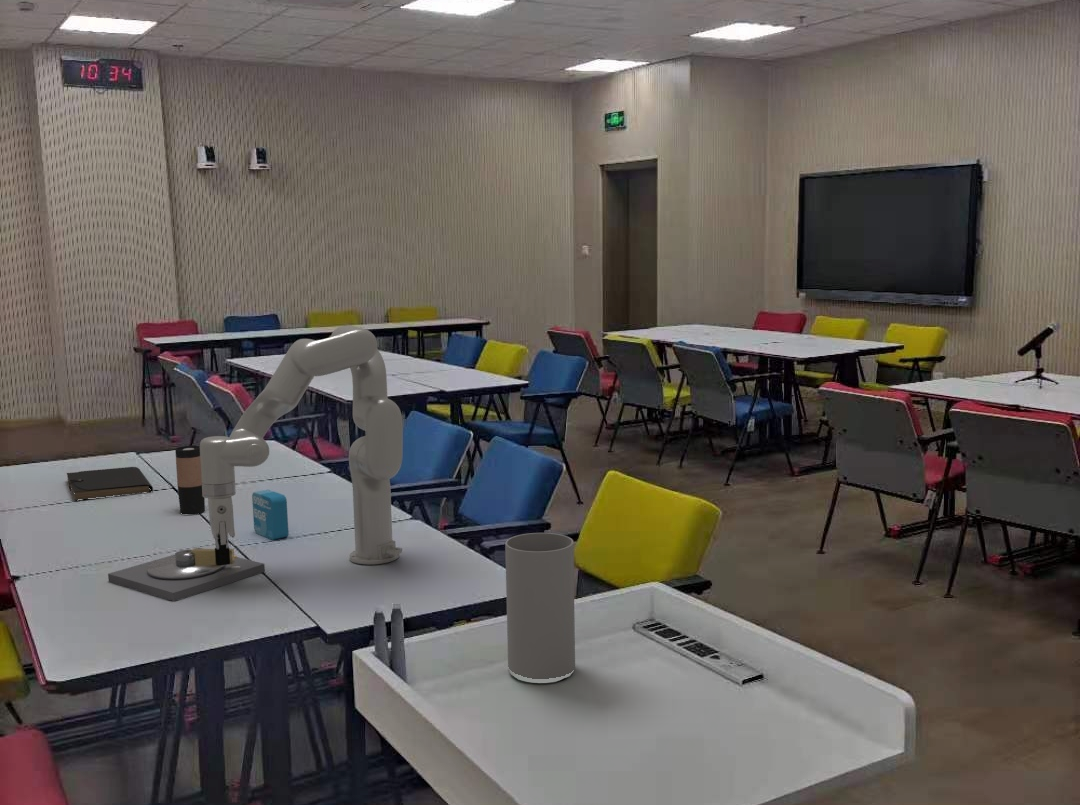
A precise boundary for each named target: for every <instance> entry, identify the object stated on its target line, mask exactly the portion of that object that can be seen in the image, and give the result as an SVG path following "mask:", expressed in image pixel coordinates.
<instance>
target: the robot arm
mask: <svg viewBox="0 0 1080 805" xmlns="http://www.w3.org/2000/svg"><path fill="white" fill-rule="evenodd" d="M348 369H350V372H351V378H352V419H353V423H354V424H355V426H356V427H358V429H360V430H362V431H365V432H364V433H365V435H364V436H360V437H358V438H357V439H356V440H355V441H353V442H352V444H351V446H350V447H349V451H348V464H349V472H350V478H351V486H352V503H353V523H354V524H353V525H354V526H353V527H354V529H353V530H354V546H355V549H354V551H351V552H350V553H349V560H350V561H351V562H352V563H354V564H359V565H381V564H388V563H390V562H393V561H396V560H397V559H398V558H399V557H400V554H402V553H403V549H402V548H401V547H397V546H396V540H393V522H392V520H393V519H392V517H393V516H392V499H391V498H392V491H391V481H390V479H392V478H394V477H395V476H396V475H398V472H399V471H400V469H401V466H402V464H403V463H402V462H403V454H404V452H403V451H404V450H403V446H404V442H403V441H404V438H403V437H404V435H403V434H404V433H403V432H404V429H403V428H404V426H403V415H402V412H401V409H400V407H399V406H398V405H397V403H396V402H395V401H394V400H392V399H390V398H388V382H387V381H388V379H387V368H386V364H385V361H384V358H383V356H382V354H381V353H380V351H379V349H378V341H377V338H376V336H375V335H374V333H372V331H370V330H368V329H366V328H364V327H358V326H353V325H341V326H338V327H337V328H335V329H334V330H333V331H332V333H331V335H330V336H329V337H326V338H322V339H316V340H315V339H311V338H299V339H297V340H296V341H294V342H293V343H292V344H291V345H290V346H289V348H288V350H287V352H286V353H285V355H284V357H283V358H282V360H281V361H280V363H279V365H278V367H277V368H276V370H275V371H274V372H273V374H272V376H271V378H270V379H269V380H268V382H267V384H266V386H265V387H264V389H263V390H262V391H261V392H260V393H259V394H258V395H257V397H256V398H255V399H254V400H253V401H252V402H251V403H250V405H248V407H247V408H246V410H245V411H244V412H243V413H242V415H241V417H240V418H239V420H238V422H237V423H236V425H235V426H234V427H233V429H232V431H231V433H230V435H229V436H223V435H214V436H208V437H204V438H202V439H201V441H200V442H199V447H200V460H201V478H202V495H203V497H204V498H205V499H207V504H208V505H207V506H208V519H209V525H210V531H211V534H212V536H213V539H214V541H215V542H214V543H215V547H214V549H215V560H216V565H217V566H220V565H229V564H230V550H229V549H230V546H229V537H231V538H235V536H236V532H235V519H234V505H233V498H232V497H234V496H235V495H236V492H237V491H236V472H235V467H245V468H246V467H251V468H252V467H258V466H261V465H262V464H264V463H265V462H266V460H268V459H269V458H268V457H269V456H270V447H269V444H268V442H267V441H266V440H265V439H264V437H265V436H266V434H267V432H268V431H269V430H270V428H271V427H272V426H273V424H274V423H275V422H276V421H277V420H278V419H279V418H282V417H283V416H284V415H286V414H287V413H289V412H291V411H293V410H294V409H295V408H296V407H297V406H298V404H299V402H300V400H301V399H302V398H303V396H304V394H305V393H306V392H307V391H306V390H307V389H308V388H309V386H310V384H311V382H312V381H313V379H314V377H322V376H327V375H331V374H334V373H337V372H341V371H344V370H348Z"/></svg>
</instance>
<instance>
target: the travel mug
mask: <svg viewBox="0 0 1080 805" xmlns="http://www.w3.org/2000/svg"><path fill="white" fill-rule="evenodd" d="M174 450H175V452H174V453H175V464H176V465H175V466H176V482H177V493H178V502H179V504H178V505H179V512H180V513H179V514H181V513H182V514H196V515H199V514H198V513H201V514H203V513H205V512H204V511H206V508H205V507H206V504H205V502H206V501H205V499H206V498H205V497H203V495H202V478H201V460H200V445H184V446H183V445H182V446H178V447H176V448H175V449H174ZM182 514H181V515H182Z"/></svg>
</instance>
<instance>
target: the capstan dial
mask: <svg viewBox="0 0 1080 805" xmlns="http://www.w3.org/2000/svg"><path fill="white" fill-rule="evenodd" d="M229 550H230V564H233V563H234V562H235V561H234V556H235V548H229ZM174 555H175V556H171V555H170V556H171V557H168V556H166V557H167V558H164V557H162V558H163V559H161V558H159V559H160V560H157V559H156V560H157V561H155V562H153V563H151V564H150V565H149V566H148V574H149V575H150V576H152V577H154V578H159V579H169V580H175V579H189V578H196V577H201V576H205V575H209V574H212V573H215V572H217V571H219V570H221V569H222V568H224V566H225V565H220V566H217V565H216V560H215V548H203V549H196V548H193V549H184V550H180V551H179V550H178V551H177V552H175V553H174Z"/></svg>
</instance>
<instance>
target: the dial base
mask: <svg viewBox="0 0 1080 805" xmlns="http://www.w3.org/2000/svg"><path fill="white" fill-rule="evenodd" d="M195 549H204V548H203V547H197V548H195ZM171 556H175V554H172V555H169V556H165V557H161V558H158V559H155V560H151V561H148V562H143V563H141V564H137V565H134V566H131V567H126V568H123V569H120V570H116V571H113V572H109V573H107V576H108V578H107V579H108V583H112V584H115V585H119V586H122V587H125V588H129V589H132V590H134V591H139V592H142V593H145V594H149V595H151V596H155V597H158V598H161V597H162V599H165V600H169V601H171V600H172V602H176V601H179V600H182V599H185V598H188V597H192V596H195V595H197V594H201V593H203V592H206V591H209V590H213V589H217V588H219V587H222V586H225V585H228V584H231V583H234V582H237V581H241V580H243V579H247V578H249V577H252V576H255V575H258V574H262V573H265V572H266V571H265V570H266V569H265V568H266V566H265V563H263V562H259V561H255V560H250V559H247V558H243V557H238V556H237V555H234V561H235V562H234V563H233V564H229V565H225V566H224V568H222V569H221V570H219V571H217V572H215V573H212V574H209V575H205V576H201V577H196V578H189V579H175V580H169V579H159V578H154V577H152V576H150V575H149V574H148V566H149V565H150V564H151V563H153V562H155V561H157V560H160V559H163V558H167V557H171Z"/></svg>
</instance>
